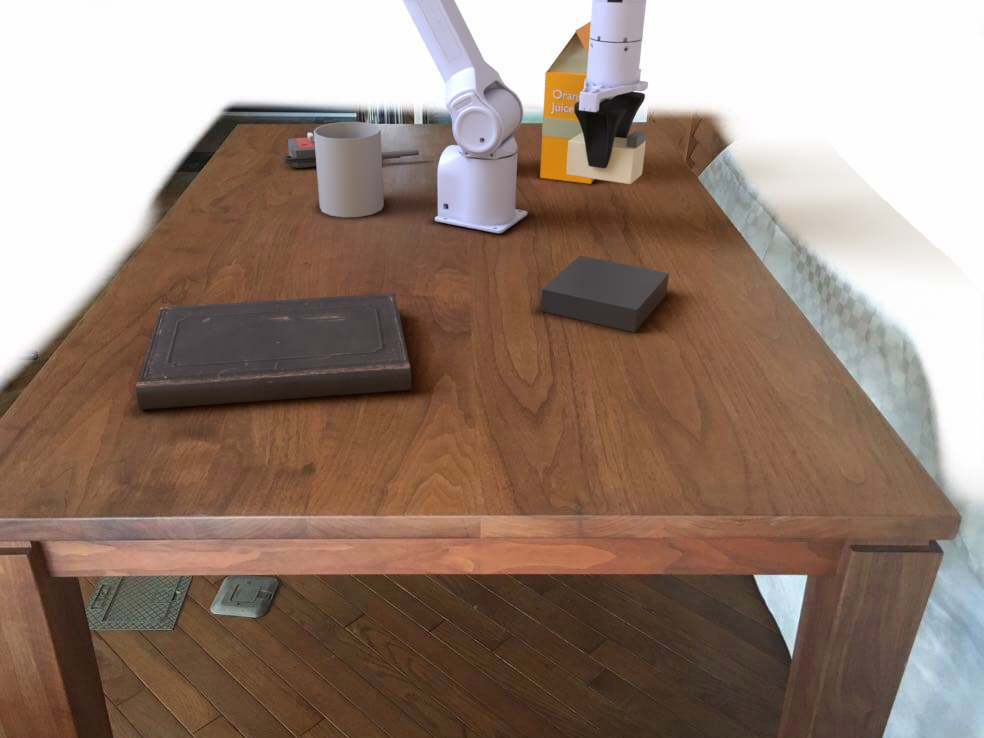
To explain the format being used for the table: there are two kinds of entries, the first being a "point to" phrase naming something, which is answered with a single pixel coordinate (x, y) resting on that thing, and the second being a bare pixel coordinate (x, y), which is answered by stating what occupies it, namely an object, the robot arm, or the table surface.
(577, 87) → the orange juice
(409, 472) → the table surface
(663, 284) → the black box
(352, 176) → the cup
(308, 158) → the walkie-talkie
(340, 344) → the hardcover book
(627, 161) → the tape dispenser
